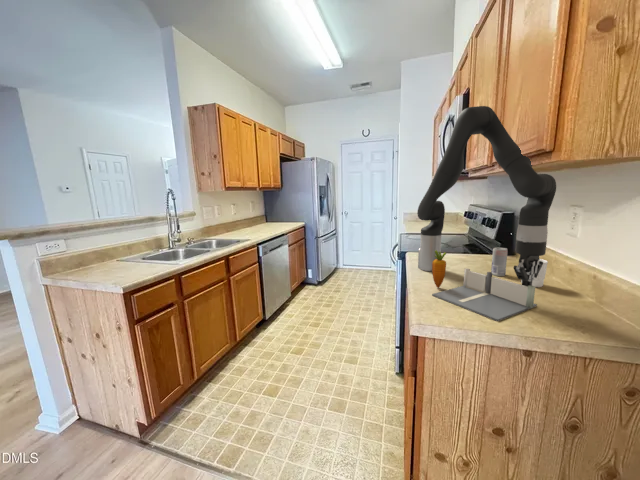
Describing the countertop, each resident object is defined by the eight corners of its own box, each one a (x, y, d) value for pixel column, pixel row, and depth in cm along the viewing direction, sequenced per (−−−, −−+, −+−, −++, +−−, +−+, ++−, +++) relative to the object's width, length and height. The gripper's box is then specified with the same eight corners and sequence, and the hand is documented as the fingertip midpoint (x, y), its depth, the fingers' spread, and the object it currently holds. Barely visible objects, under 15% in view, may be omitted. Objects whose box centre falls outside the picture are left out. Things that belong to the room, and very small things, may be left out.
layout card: (432, 295, 96) (432, 293, 96) (469, 285, 105) (469, 283, 105) (497, 321, 76) (497, 319, 76) (536, 306, 85) (536, 304, 85)
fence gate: (489, 293, 94) (491, 276, 92) (493, 292, 94) (494, 275, 93) (530, 308, 81) (533, 287, 80) (534, 306, 82) (536, 286, 81)
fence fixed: (462, 286, 103) (463, 266, 102) (465, 285, 104) (466, 266, 103) (488, 294, 94) (490, 273, 93) (491, 293, 95) (493, 272, 93)
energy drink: (500, 272, 120) (503, 247, 118) (508, 276, 115) (510, 249, 113) (488, 272, 120) (490, 247, 118) (495, 276, 115) (497, 249, 113)
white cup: (514, 282, 107) (517, 258, 105) (528, 280, 109) (531, 256, 107) (535, 289, 99) (538, 263, 98) (549, 286, 102) (552, 261, 100)
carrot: (447, 288, 103) (449, 250, 100) (439, 290, 100) (441, 252, 98) (436, 284, 107) (438, 248, 105) (428, 287, 105) (430, 250, 102)
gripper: (528, 235, 89) (524, 284, 92) (506, 239, 83) (501, 291, 86) (556, 238, 82) (550, 290, 85) (533, 243, 76) (528, 299, 79)
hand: (526, 291), depth 86 cm, fingers closed
